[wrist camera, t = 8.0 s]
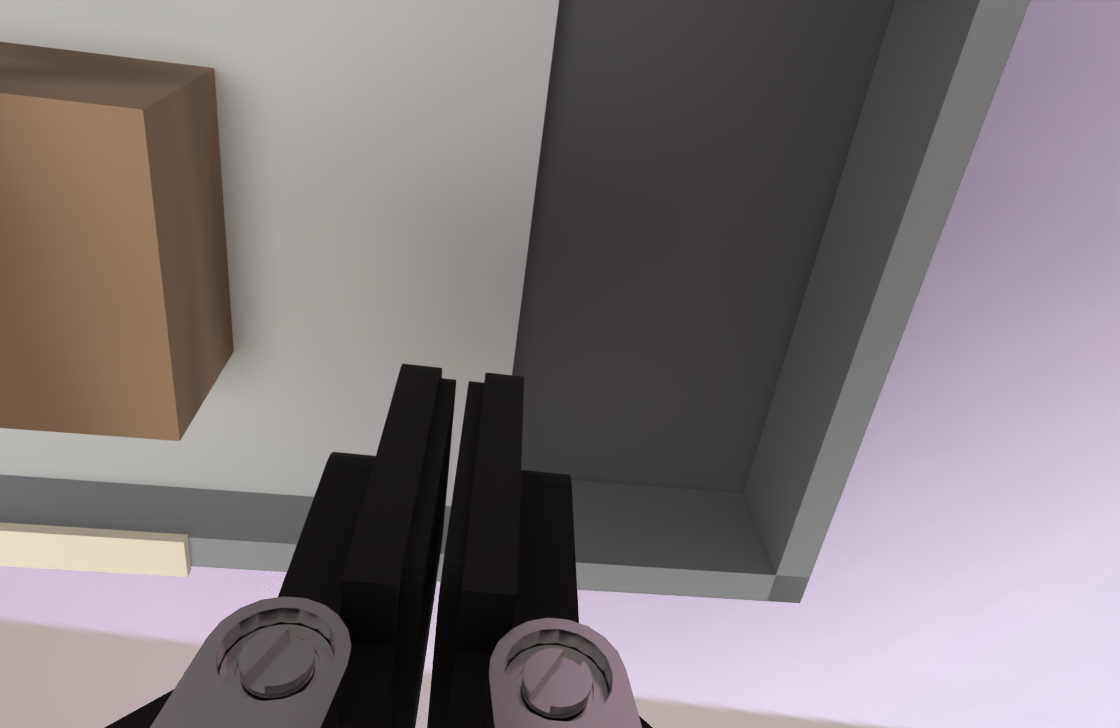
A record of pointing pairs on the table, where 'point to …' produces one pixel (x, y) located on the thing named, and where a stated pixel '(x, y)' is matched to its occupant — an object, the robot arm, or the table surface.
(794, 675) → the table surface
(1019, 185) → the table surface
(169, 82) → the walnut block
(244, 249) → the box
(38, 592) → the table surface
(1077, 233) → the table surface
